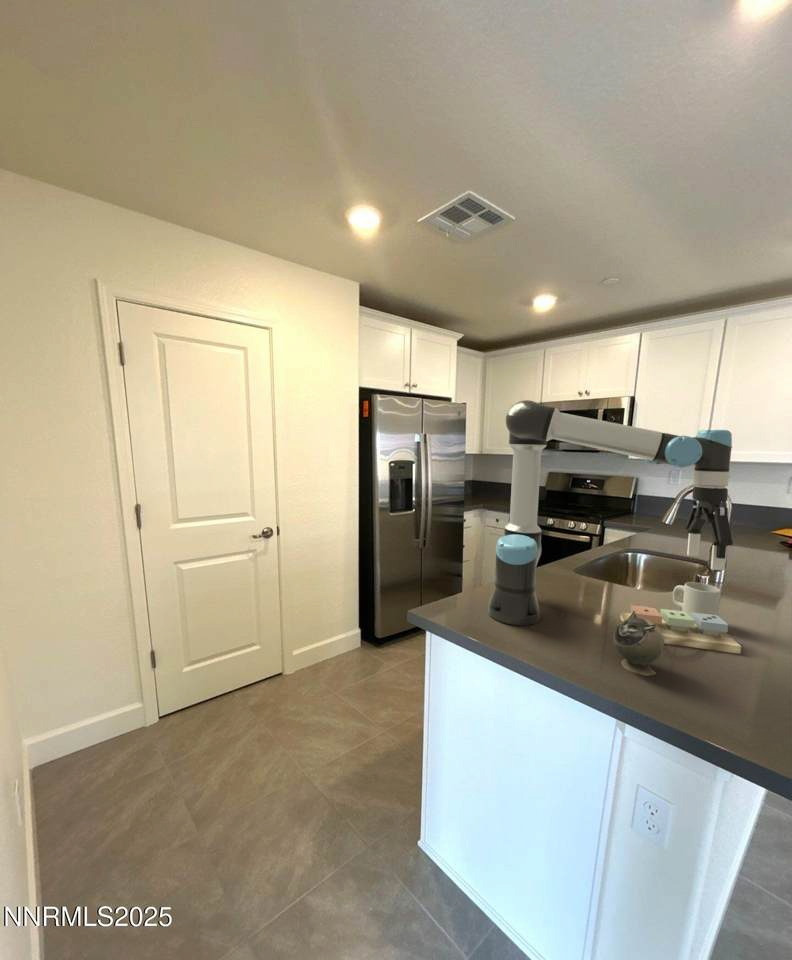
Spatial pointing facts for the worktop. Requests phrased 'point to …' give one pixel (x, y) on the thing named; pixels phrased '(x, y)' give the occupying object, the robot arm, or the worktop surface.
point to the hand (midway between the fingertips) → (704, 562)
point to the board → (695, 638)
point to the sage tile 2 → (677, 620)
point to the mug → (698, 598)
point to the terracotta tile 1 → (647, 614)
